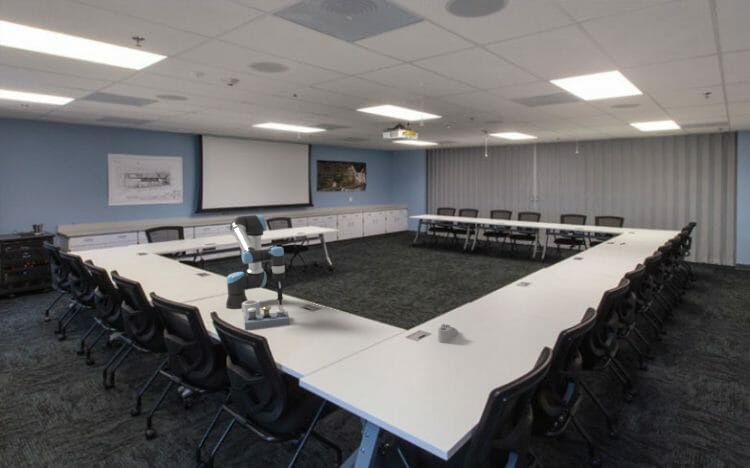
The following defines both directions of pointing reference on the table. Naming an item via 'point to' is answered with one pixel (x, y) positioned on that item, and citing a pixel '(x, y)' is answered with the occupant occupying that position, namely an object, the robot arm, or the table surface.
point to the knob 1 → (252, 313)
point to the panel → (266, 321)
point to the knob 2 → (280, 312)
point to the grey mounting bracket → (446, 333)
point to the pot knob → (266, 311)
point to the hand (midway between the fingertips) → (280, 309)
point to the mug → (250, 304)
